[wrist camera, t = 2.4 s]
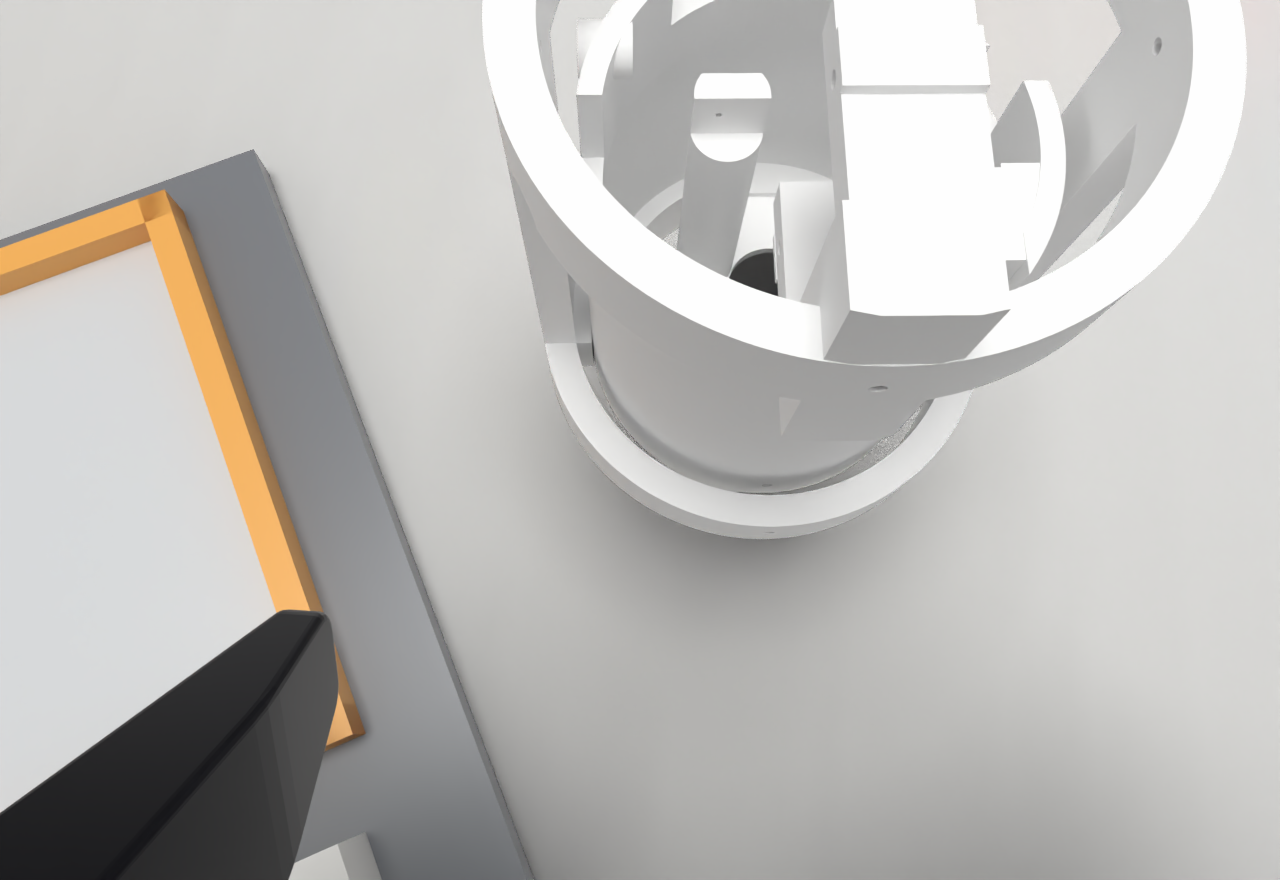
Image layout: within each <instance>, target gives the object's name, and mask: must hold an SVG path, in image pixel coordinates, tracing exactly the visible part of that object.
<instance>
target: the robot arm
mask: <svg viewBox="0 0 1280 880" xmlns="http://www.w3.org/2000/svg"><path fill="white" fill-rule="evenodd" d="M338 686H339V682H338V672H337V664H336V656H335V648H334V639H333V631H332V625H331V622H330V619H329V617H328V616H327V615H326V614H325V613H323V612H320V611H306V610H291V609H288V610H282V611H279V612H277V613H276V614H274V615H273V616H271V617H270V618H268V619H267V620H266V621H264V622H263V623H261V624H260V625H259V626H257V627H256V628H255V629H253V630H252V631H250V632H249V633H248V634H246V635H245V636H243V637H242V638H241V639H239V640H238V641H237V642H235V643H234V644H232V645H231V646H230V647H228V648H227V649H226V650H224V651H223V652H221V653H220V654H219V655H217V656H216V657H214V658H213V659H212V660H210V661H209V662H208V663H206V664H205V665H203V666H202V667H201V668H199V669H198V670H197V671H195V672H194V673H192V674H191V675H190V676H188V677H187V678H185V679H184V680H183V681H181V682H180V683H179V684H177V685H176V686H174V687H173V688H172V689H170V690H169V691H167V692H166V693H165V694H163V695H162V696H161V697H159V698H158V699H156V700H155V701H154V702H152V703H151V704H150V705H148V706H147V707H145V708H144V709H143V710H141V711H140V712H138V713H137V714H136V715H134V716H133V717H132V718H130V719H129V720H127V721H126V722H125V723H123V724H122V725H120V726H119V727H118V728H116V729H115V730H114V731H112V732H111V733H109V734H108V735H107V736H105V737H104V738H103V739H101V740H100V741H98V742H97V743H96V744H94V745H93V746H91V747H90V748H89V749H87V750H86V751H85V752H83V753H82V754H80V755H79V756H78V757H76V758H75V759H73V760H72V761H71V762H69V763H68V764H67V765H65V766H64V767H62V768H61V769H60V770H58V771H57V772H56V773H54V774H53V775H51V776H50V777H49V778H47V779H46V780H44V781H43V782H42V783H40V784H39V785H38V786H36V787H35V788H33V789H32V790H31V791H29V792H28V793H26V794H25V795H24V796H22V797H21V798H20V799H18V800H17V801H15V802H14V803H13V804H11V805H10V806H9V807H7V808H6V809H4V810H3V811H2V812H0V880H289V877H290V874H291V872H292V869H293V866H294V863H295V860H296V856H297V853H298V849H299V846H300V842H301V839H302V835H303V831H304V827H305V823H306V820H307V816H308V812H309V808H310V804H311V801H312V797H313V793H314V789H315V785H316V782H317V778H318V774H319V770H320V766H321V763H322V759H323V755H324V751H325V747H326V744H327V740H328V736H329V732H330V728H331V725H332V721H333V717H334V713H335V709H336V705H337V699H338Z"/></svg>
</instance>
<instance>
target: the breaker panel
mask: <svg viewBox="0 0 1280 880" xmlns="http://www.w3.org/2000/svg"><path fill="white" fill-rule="evenodd" d="M288 609H291V610H306V611H320V612H323V613H325V614H326V615H327V616H328V617H329V619H330V622H331V625H332V631H333V639H334V648H335V656H336V664H337V672H338V682H339V686H338V699H337V705H336V709H335V713H334V717H333V721H332V725H331V728H330V732H329V736H328V740H327V744H326V747H325V751H324V755H323V759H322V763H321V766H320V770H319V774H318V778H317V782H316V785H315V789H314V793H313V797H312V801H311V804H310V808H309V812H308V816H307V820H306V823H305V827H304V831H303V835H302V839H301V842H300V846H299V849H298V853H297V856H296V860H295V863H294V866H293V869H292V872H291V874H290V877H289V880H534V877H533V874H532V872H531V869H530V866H529V864H528V861H527V858H526V856H525V853H524V850H523V848H522V845H521V843H520V840H519V837H518V835H517V832H516V829H515V827H514V824H513V821H512V819H511V816H510V813H509V811H508V808H507V805H506V803H505V800H504V797H503V795H502V792H501V789H500V787H499V784H498V781H497V779H496V776H495V773H494V771H493V768H492V765H491V763H490V760H489V758H488V755H487V752H486V750H485V747H484V744H483V742H482V739H481V736H480V734H479V731H478V728H477V726H476V723H475V720H474V718H473V715H472V712H471V710H470V707H469V704H468V702H467V699H466V696H465V694H464V691H463V688H462V686H461V683H460V681H459V678H458V675H457V673H456V670H455V667H454V665H453V662H452V659H451V657H450V654H449V651H448V649H447V646H446V643H445V641H444V638H443V635H442V633H441V630H440V627H439V625H438V622H437V619H436V617H435V614H434V611H433V609H432V606H431V604H430V601H429V598H428V596H427V593H426V590H425V588H424V585H423V582H422V580H421V577H420V574H419V572H418V569H417V566H416V564H415V561H414V558H413V556H412V553H411V550H410V548H409V545H408V542H407V540H406V537H405V534H404V532H403V529H402V526H401V524H400V521H399V519H398V516H397V513H396V511H395V508H394V505H393V503H392V500H391V497H390V495H389V492H388V489H387V487H386V484H385V481H384V479H383V476H382V473H381V471H380V468H379V465H378V463H377V460H376V457H375V455H374V452H373V449H372V447H371V444H370V442H369V439H368V436H367V434H366V431H365V428H364V426H363V423H362V420H361V418H360V415H359V412H358V410H357V407H356V404H355V402H354V399H353V396H352V394H351V391H350V388H349V386H348V383H347V380H346V378H345V375H344V372H343V370H342V367H341V365H340V362H339V359H338V357H337V354H336V351H335V349H334V346H333V343H332V341H331V338H330V335H329V333H328V330H327V327H326V325H325V322H324V319H323V317H322V314H321V311H320V309H319V306H318V303H317V301H316V298H315V295H314V293H313V290H312V287H311V285H310V282H309V280H308V277H307V274H306V272H305V269H304V266H303V264H302V261H301V258H300V256H299V253H298V250H297V248H296V245H295V242H294V240H293V237H292V234H291V232H290V229H289V226H288V224H287V221H286V218H285V216H284V213H283V210H282V208H281V205H280V203H279V200H278V197H277V195H276V192H275V189H274V187H273V184H272V181H271V179H270V176H269V173H268V171H267V170H266V168H265V167H264V165H263V163H262V162H261V160H260V159H259V157H258V156H257V154H256V153H255V151H254V150H250V151H247V152H244V153H242V154H239V155H236V156H233V157H230V158H228V159H225V160H222V161H219V162H217V163H214V164H211V165H208V166H205V167H203V168H200V169H197V170H194V171H191V172H189V173H186V174H183V175H180V176H177V177H175V178H172V179H169V180H166V181H164V182H161V183H158V184H155V185H152V186H150V187H147V188H144V189H141V190H138V191H136V192H133V193H130V194H127V195H125V196H122V197H119V198H116V199H113V200H111V201H108V202H105V203H102V204H99V205H97V206H94V207H91V208H88V209H85V210H83V211H80V212H77V213H74V214H72V215H69V216H66V217H63V218H60V219H58V220H55V221H52V222H49V223H46V224H44V225H41V226H38V227H35V228H33V229H30V230H27V231H24V232H21V233H19V234H16V235H13V236H10V237H7V238H5V239H2V240H0V812H2V811H3V810H4V809H6V808H7V807H9V806H10V805H11V804H13V803H14V802H15V801H17V800H18V799H20V798H21V797H22V796H24V795H25V794H26V793H28V792H29V791H31V790H32V789H33V788H35V787H36V786H38V785H39V784H40V783H42V782H43V781H44V780H46V779H47V778H49V777H50V776H51V775H53V774H54V773H56V772H57V771H58V770H60V769H61V768H62V767H64V766H65V765H67V764H68V763H69V762H71V761H72V760H73V759H75V758H76V757H78V756H79V755H80V754H82V753H83V752H85V751H86V750H87V749H89V748H90V747H91V746H93V745H94V744H96V743H97V742H98V741H100V740H101V739H103V738H104V737H105V736H107V735H108V734H109V733H111V732H112V731H114V730H115V729H116V728H118V727H119V726H120V725H122V724H123V723H125V722H126V721H127V720H129V719H130V718H132V717H133V716H134V715H136V714H137V713H138V712H140V711H141V710H143V709H144V708H145V707H147V706H148V705H150V704H151V703H152V702H154V701H155V700H156V699H158V698H159V697H161V696H162V695H163V694H165V693H166V692H167V691H169V690H170V689H172V688H173V687H174V686H176V685H177V684H179V683H180V682H181V681H183V680H184V679H185V678H187V677H188V676H190V675H191V674H192V673H194V672H195V671H197V670H198V669H199V668H201V667H202V666H203V665H205V664H206V663H208V662H209V661H210V660H212V659H213V658H214V657H216V656H217V655H219V654H220V653H221V652H223V651H224V650H226V649H227V648H228V647H230V646H231V645H232V644H234V643H235V642H237V641H238V640H239V639H241V638H242V637H243V636H245V635H246V634H248V633H249V632H250V631H252V630H253V629H255V628H256V627H257V626H259V625H260V624H261V623H263V622H264V621H266V620H267V619H268V618H270V617H271V616H273V615H274V614H276V613H277V612H279V611H282V610H288Z"/></svg>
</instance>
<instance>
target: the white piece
mask: <svg viewBox="0 0 1280 880" xmlns="http://www.w3.org/2000/svg"><path fill="white" fill-rule="evenodd" d="M559 1H560V0H483V8H482V25H483V41H484V51H485V58H486V64H487V70H488V75H489V80H490V84H491V89H492V94H493V99H494V104H495V108H496V113H497V118H498V123H499V128H500V132H501V137H502V142H503V146H504V151H505V154H506V159H507V164H508V169H509V174H510V178H511V183H512V188H513V193H514V198H515V202H516V207H517V212H518V217H519V222H520V226H521V231H522V236H523V241H524V246H525V250H526V255H527V260H528V265H529V269H530V274H531V279H532V284H533V289H534V293H535V298H536V303H537V308H538V313H539V317H540V322H541V327H542V332H543V337H544V341H545V347H546V352H547V357H548V362H549V367H550V371H551V376H552V381H553V385H554V388H555V392H556V395H557V398H558V401H559V404H560V406H561V409H562V411H563V413H564V416H565V418H566V420H567V422H568V424H569V426H570V428H571V430H572V431H573V433H574V435H575V436H576V438H577V440H578V441H579V443H580V444H581V446H582V447H583V449H584V450H585V451H586V453H587V454H588V455H589V457H590V458H591V459H592V460H593V462H594V463H595V464H596V465H597V466H598V467H599V468H600V469H601V471H602V472H603V473H604V474H605V475H606V476H607V477H608V478H609V479H610V480H612V481H613V482H614V483H615V484H616V485H617V486H618V487H619V488H621V489H622V490H623V491H624V492H626V493H627V494H628V495H630V496H631V497H632V498H634V499H635V500H637V501H638V502H640V503H641V504H643V505H644V506H646V507H647V508H649V509H651V510H653V511H654V512H656V513H658V514H660V515H662V516H664V517H666V518H668V519H670V520H673V521H675V522H677V523H680V524H683V525H685V526H688V527H691V528H694V529H697V530H701V531H704V532H708V533H712V534H717V535H722V536H728V537H735V538H745V539H778V538H788V537H795V536H801V535H806V534H811V533H815V532H819V531H822V530H826V529H829V528H832V527H835V526H837V525H840V524H842V523H845V522H847V521H849V520H851V519H854V518H856V517H858V516H860V515H862V514H863V513H865V512H867V511H869V510H870V509H872V508H874V507H875V506H877V505H878V504H880V503H881V502H883V501H884V500H885V499H887V498H888V497H889V496H891V495H892V494H893V493H894V492H896V491H897V490H898V489H899V488H900V487H901V486H903V485H904V484H905V483H906V482H907V481H908V480H910V479H911V478H912V477H913V476H914V475H915V474H917V473H918V472H919V471H920V470H921V469H922V468H923V467H924V466H925V465H926V464H927V463H928V462H929V461H930V460H931V459H932V458H933V457H934V456H935V454H936V453H937V452H938V451H939V450H940V449H941V447H942V446H943V445H944V443H945V442H946V441H947V439H948V438H949V436H950V435H951V433H952V432H953V430H954V429H955V427H956V425H957V424H958V422H959V420H960V418H961V416H962V414H963V412H964V410H965V408H966V406H967V404H968V401H969V399H970V396H971V394H972V391H973V389H974V388H977V387H980V386H983V385H986V384H989V383H991V382H994V381H997V380H999V379H1002V378H1004V377H1006V376H1009V375H1011V374H1013V373H1015V372H1018V371H1020V370H1022V369H1024V368H1026V367H1028V366H1030V365H1032V364H1034V363H1035V362H1037V361H1039V360H1041V359H1042V358H1044V357H1046V356H1048V355H1049V354H1051V353H1052V352H1054V351H1056V350H1057V349H1059V348H1060V347H1062V346H1063V345H1065V344H1066V343H1067V342H1069V341H1070V340H1072V339H1073V338H1074V337H1076V336H1077V335H1078V334H1079V333H1081V332H1082V331H1083V330H1084V329H1086V328H1087V327H1088V326H1089V325H1090V324H1091V323H1093V322H1094V321H1095V320H1096V319H1097V318H1098V317H1100V316H1101V315H1102V314H1103V313H1104V312H1105V311H1107V310H1108V309H1109V308H1110V307H1111V306H1112V305H1114V304H1115V303H1116V302H1117V301H1118V300H1119V299H1121V298H1122V297H1123V296H1124V295H1125V294H1126V293H1128V292H1129V291H1130V290H1131V289H1132V288H1133V287H1135V286H1136V285H1137V284H1138V283H1139V282H1140V281H1142V280H1143V279H1144V278H1145V277H1146V276H1147V275H1148V274H1150V273H1151V272H1152V271H1153V270H1154V269H1155V268H1156V267H1157V266H1158V265H1159V264H1160V263H1161V262H1162V261H1163V260H1164V259H1165V258H1166V257H1167V256H1168V255H1169V254H1170V253H1171V252H1172V251H1173V250H1174V248H1175V247H1176V246H1177V245H1178V244H1179V243H1180V241H1181V240H1182V239H1183V238H1184V237H1185V235H1186V234H1187V233H1188V231H1189V230H1190V229H1191V227H1192V226H1193V225H1194V223H1195V222H1196V220H1197V219H1198V218H1199V216H1200V215H1201V213H1202V211H1203V210H1204V208H1205V207H1206V205H1207V203H1208V202H1209V200H1210V198H1211V196H1212V195H1213V193H1214V191H1215V189H1216V187H1217V185H1218V183H1219V181H1220V179H1221V177H1222V174H1223V172H1224V170H1225V167H1226V165H1227V162H1228V160H1229V157H1230V154H1231V152H1232V149H1233V146H1234V142H1235V139H1236V136H1237V132H1238V128H1239V124H1240V119H1241V114H1242V109H1243V103H1244V95H1245V86H1246V64H1247V60H1246V38H1245V28H1244V21H1243V14H1242V9H1241V4H1240V0H1107V1H1108V3H1109V5H1110V7H1111V9H1112V11H1113V13H1114V15H1115V17H1116V19H1117V22H1118V24H1119V27H1120V29H1121V33H1120V34H1119V36H1118V37H1117V38H1116V40H1115V41H1114V43H1113V44H1112V45H1111V47H1110V48H1109V50H1108V51H1107V52H1106V54H1105V55H1104V57H1103V58H1102V59H1101V61H1100V62H1099V63H1098V65H1097V66H1096V68H1095V69H1094V70H1093V72H1092V73H1091V75H1090V76H1089V77H1088V79H1087V80H1086V82H1085V83H1084V84H1083V86H1082V87H1081V89H1080V90H1079V91H1078V93H1077V94H1076V96H1075V97H1074V98H1073V100H1072V101H1071V102H1070V104H1069V105H1068V107H1067V108H1066V109H1065V111H1064V112H1063V114H1062V115H1061V116H1060V112H1059V108H1058V105H1057V102H1056V99H1055V96H1054V93H1053V90H1052V88H1051V85H1050V83H1049V81H1023V82H1022V84H1021V85H1020V87H1019V89H1018V90H1017V92H1016V93H1015V95H1014V97H1013V98H1012V100H1011V101H1010V103H1009V105H1008V106H1007V108H1006V110H1005V111H1004V113H1003V114H1002V116H1001V118H1000V119H999V121H997V119H996V118H995V116H994V114H993V113H992V111H991V110H990V108H989V107H988V105H987V100H986V92H987V90H988V88H989V86H990V77H989V69H988V61H987V53H986V52H987V51H988V49H989V47H990V45H989V44H988V43H987V42H986V41H985V36H984V28H983V25H977V16H976V8H975V0H617V1H616V2H615V3H614V4H613V6H612V7H611V9H610V10H609V12H608V13H607V15H606V16H605V18H596V19H577V67H578V79H579V82H578V87H577V93H576V97H577V110H578V124H579V137H580V150H581V155H580V154H579V152H578V151H577V149H576V147H575V146H574V144H573V142H572V141H571V139H570V137H569V135H568V134H567V132H566V130H565V128H564V126H563V124H562V122H561V120H560V117H559V115H558V106H557V96H556V87H555V78H554V68H553V59H552V50H551V41H550V30H551V26H552V22H553V19H554V15H555V12H556V9H557V6H558V4H559ZM1123 188H1124V189H1123ZM1122 189H1123V191H1122V194H1121V196H1120V199H1119V201H1118V204H1117V206H1116V208H1115V210H1114V212H1113V214H1112V216H1111V218H1110V220H1109V222H1108V223H1107V225H1106V227H1105V229H1104V230H1103V232H1102V233H1101V235H1100V237H1099V238H1098V240H1097V241H1096V242H1095V244H1094V245H1093V246H1092V247H1091V248H1090V249H1088V250H1087V251H1086V252H1084V253H1083V254H1081V255H1080V256H1078V257H1077V258H1075V259H1074V260H1072V261H1071V262H1069V263H1068V264H1066V265H1064V266H1063V267H1061V268H1059V269H1057V270H1055V271H1054V272H1052V273H1050V274H1048V275H1046V276H1044V277H1042V278H1040V277H1041V276H1042V275H1043V274H1044V273H1045V272H1046V271H1047V270H1048V269H1049V268H1050V266H1051V265H1052V264H1053V263H1054V262H1055V261H1056V260H1057V259H1058V258H1059V257H1060V256H1061V255H1062V254H1063V252H1064V251H1065V250H1066V249H1067V248H1068V247H1069V246H1070V245H1071V244H1072V243H1073V242H1074V241H1075V240H1076V239H1077V237H1078V236H1079V235H1080V234H1081V233H1082V232H1083V231H1084V230H1085V229H1086V228H1087V227H1088V226H1089V225H1090V223H1091V222H1092V221H1093V220H1094V219H1095V218H1096V217H1097V216H1098V215H1099V214H1100V213H1101V212H1102V211H1103V210H1104V208H1105V207H1106V206H1107V205H1108V204H1109V203H1110V202H1111V201H1112V200H1113V199H1114V198H1115V197H1116V196H1117V194H1118V193H1119V192H1120V191H1121V190H1122ZM678 228H679V234H678V243H677V250H676V249H674V248H673V247H672V246H670V245H669V244H667V243H666V242H664V241H663V240H662V239H664V238H665V237H666V236H668V235H669V234H671V233H672V232H674V231H675V230H677V229H678ZM1039 278H1040V279H1039ZM594 361H595V366H596V370H597V374H598V377H599V381H600V384H601V386H602V389H603V391H604V394H605V396H606V398H607V400H608V402H609V404H610V406H611V408H612V410H613V411H614V413H615V415H616V416H617V418H618V419H619V421H620V422H621V424H622V425H623V426H624V428H625V429H626V430H627V431H628V432H629V434H630V435H631V436H632V437H633V438H634V439H635V440H636V441H637V442H638V443H639V444H640V445H641V446H642V447H643V448H644V449H645V450H646V451H647V452H649V453H650V454H651V455H652V456H653V457H655V458H656V459H657V460H659V461H660V462H662V463H663V464H665V465H666V466H668V467H669V468H671V469H673V470H674V471H673V470H671V469H669V468H667V467H666V466H664V465H662V464H661V463H659V462H658V461H656V460H655V459H653V458H652V457H650V456H649V455H648V454H646V453H645V452H644V451H642V450H641V449H640V448H639V447H638V446H636V445H635V444H634V443H633V442H632V441H631V440H630V439H629V438H628V437H627V436H626V435H625V434H624V433H623V432H622V431H621V430H620V429H619V428H618V427H617V425H616V424H615V423H614V422H613V421H612V419H611V418H610V417H609V415H608V414H607V413H606V411H605V410H604V408H603V407H602V405H601V404H600V402H599V401H598V399H597V397H596V396H595V394H594V392H593V390H592V388H591V386H590V384H589V382H588V379H587V377H586V375H585V372H584V369H583V367H582V366H594ZM921 405H922V406H921ZM920 406H921V408H920V411H919V413H918V415H917V417H916V419H915V421H914V423H913V425H912V426H911V428H910V430H909V431H908V433H907V434H906V436H905V437H904V439H903V440H902V441H901V443H900V444H899V445H898V447H897V448H896V449H895V450H894V451H893V452H891V453H890V454H889V455H888V456H886V457H885V458H884V459H882V460H881V461H880V462H878V463H877V464H875V465H874V466H872V467H870V468H869V469H867V470H865V471H863V472H862V473H860V474H858V475H856V476H854V477H851V478H849V479H847V480H845V481H842V482H839V483H837V484H834V485H831V486H828V487H824V488H821V489H817V490H812V491H807V492H802V493H795V494H785V495H755V494H745V493H738V492H746V493H774V492H783V491H790V490H795V489H799V488H803V487H807V486H810V485H814V484H816V483H819V482H822V481H824V480H827V479H829V478H831V477H833V476H835V475H837V474H839V473H841V472H843V471H844V470H846V469H848V468H849V467H851V466H852V465H854V464H855V463H857V462H858V461H859V460H861V459H862V458H863V457H864V456H865V455H867V454H868V453H869V452H870V451H871V450H872V449H873V448H874V447H875V446H876V445H877V444H878V443H879V442H880V441H881V440H882V439H883V438H886V437H890V436H893V435H894V434H895V433H896V432H897V431H898V430H899V429H900V428H901V427H902V426H903V425H904V423H905V422H906V421H907V420H908V419H909V418H910V417H911V416H912V415H913V414H914V413H915V412H916V411H917V410H918V408H919V407H920Z"/></svg>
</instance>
